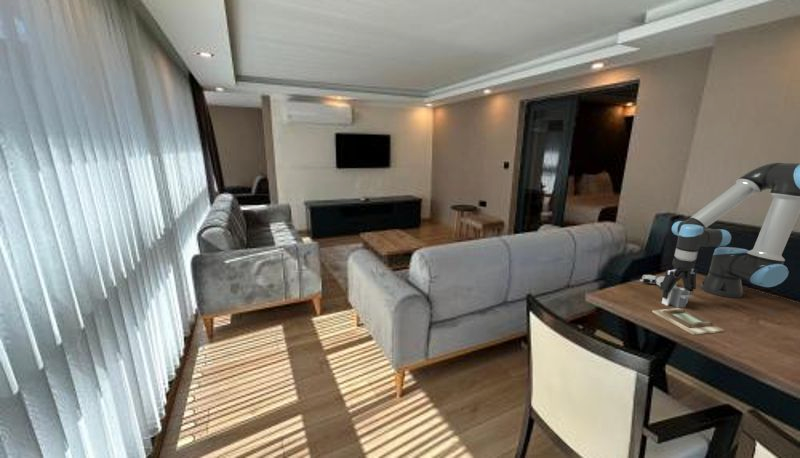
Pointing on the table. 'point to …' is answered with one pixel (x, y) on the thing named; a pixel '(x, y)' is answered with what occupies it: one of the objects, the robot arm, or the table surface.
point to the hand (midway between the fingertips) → (674, 303)
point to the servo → (679, 297)
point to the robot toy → (653, 279)
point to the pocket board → (688, 321)
